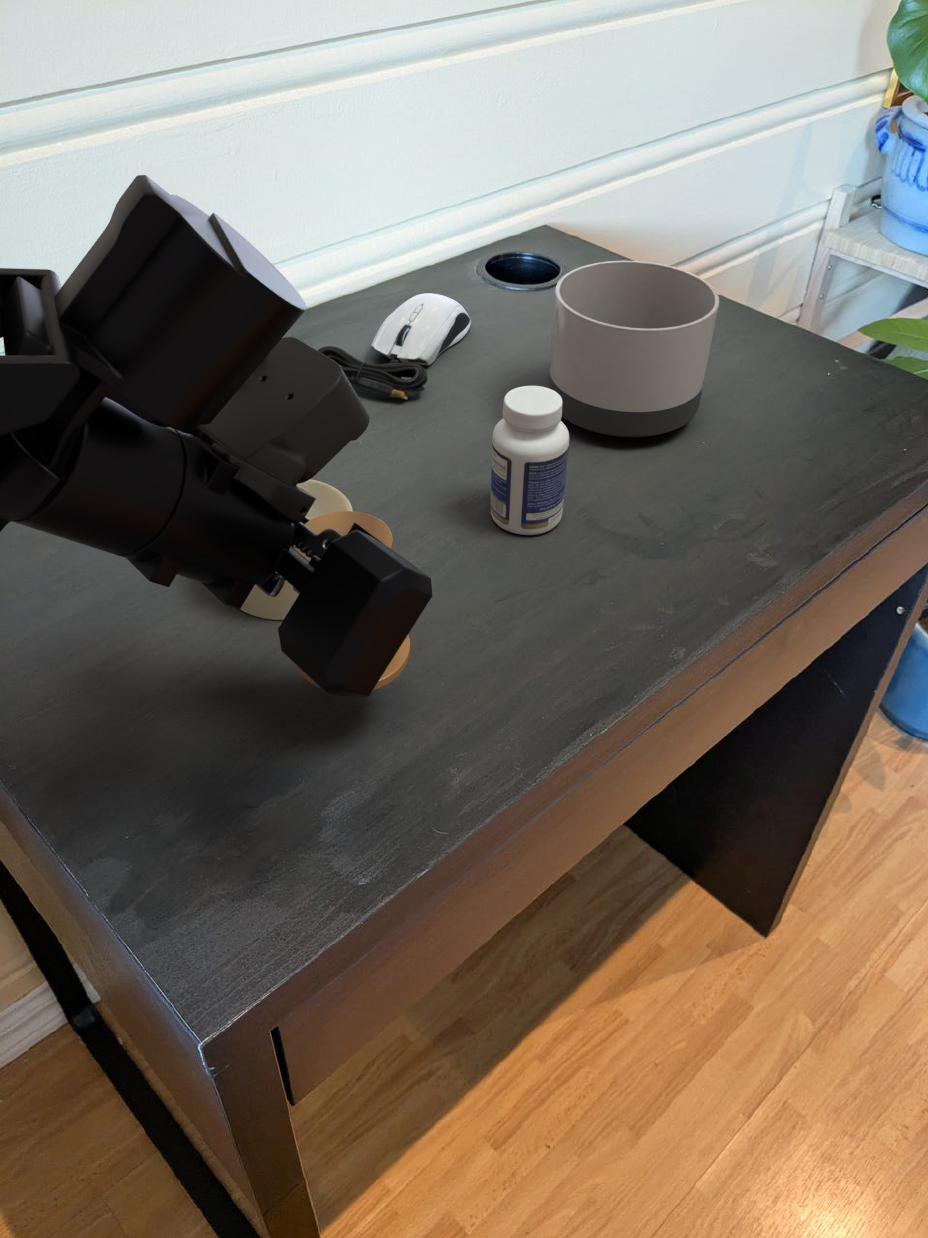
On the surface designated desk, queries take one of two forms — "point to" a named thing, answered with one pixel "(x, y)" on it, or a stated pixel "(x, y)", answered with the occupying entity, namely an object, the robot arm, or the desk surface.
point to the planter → (631, 346)
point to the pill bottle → (529, 461)
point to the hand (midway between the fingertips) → (368, 580)
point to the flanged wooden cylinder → (380, 530)
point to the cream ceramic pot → (282, 603)
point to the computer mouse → (406, 345)
